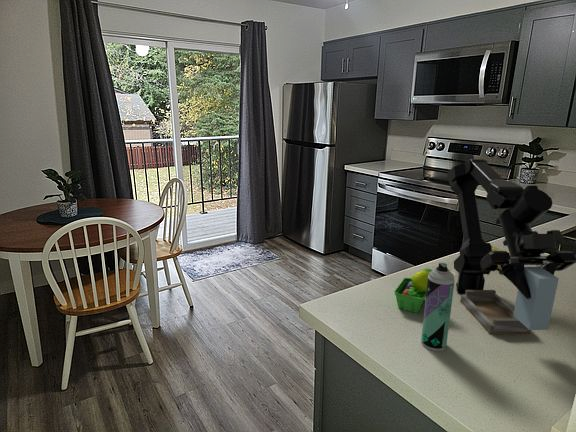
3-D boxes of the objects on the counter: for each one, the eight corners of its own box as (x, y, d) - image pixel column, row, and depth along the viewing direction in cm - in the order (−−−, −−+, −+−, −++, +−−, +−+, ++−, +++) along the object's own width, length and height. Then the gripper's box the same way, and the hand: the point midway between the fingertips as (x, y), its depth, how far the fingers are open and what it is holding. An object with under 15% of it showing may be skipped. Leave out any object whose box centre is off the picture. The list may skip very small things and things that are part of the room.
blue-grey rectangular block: (513, 315, 88) (522, 266, 85) (530, 315, 88) (540, 266, 85) (529, 329, 82) (539, 278, 79) (547, 329, 82) (558, 278, 79)
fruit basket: (403, 292, 114) (406, 256, 111) (434, 300, 109) (438, 263, 106) (392, 309, 104) (395, 271, 101) (425, 318, 100) (430, 278, 97)
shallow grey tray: (460, 301, 108) (461, 289, 107) (495, 301, 108) (497, 289, 107) (489, 333, 93) (491, 320, 92) (530, 333, 93) (533, 320, 92)
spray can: (426, 334, 93) (434, 257, 87) (449, 343, 89) (459, 263, 84) (417, 345, 88) (425, 264, 83) (441, 354, 85) (451, 271, 80)
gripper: (494, 216, 82) (515, 286, 75) (580, 216, 83) (610, 286, 75) (472, 238, 92) (489, 302, 85) (549, 238, 92) (573, 302, 85)
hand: (539, 298), depth 82 cm, fingers closed on blue-grey rectangular block, 4 cm apart
